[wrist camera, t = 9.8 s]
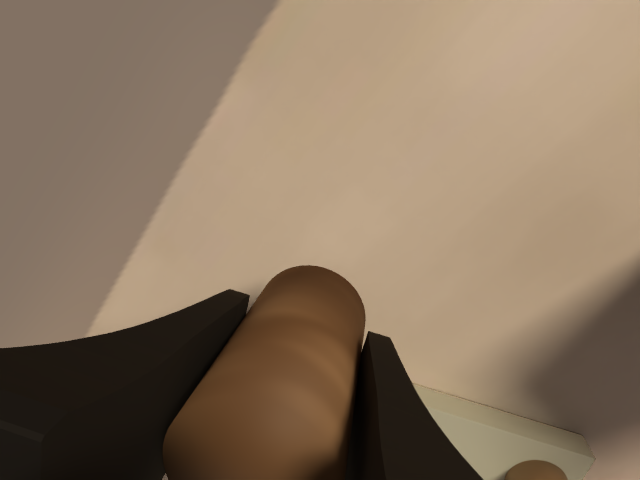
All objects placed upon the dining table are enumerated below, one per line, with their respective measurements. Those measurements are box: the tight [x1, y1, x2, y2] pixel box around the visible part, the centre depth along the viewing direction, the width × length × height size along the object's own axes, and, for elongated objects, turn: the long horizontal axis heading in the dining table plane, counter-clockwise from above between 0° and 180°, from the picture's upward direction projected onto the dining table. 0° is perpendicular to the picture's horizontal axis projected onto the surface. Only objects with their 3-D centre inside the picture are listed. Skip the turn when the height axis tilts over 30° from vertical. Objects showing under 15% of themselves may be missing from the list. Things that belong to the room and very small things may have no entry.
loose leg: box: [163, 265, 365, 480], centre depth 10 cm, size 3×3×6 cm
